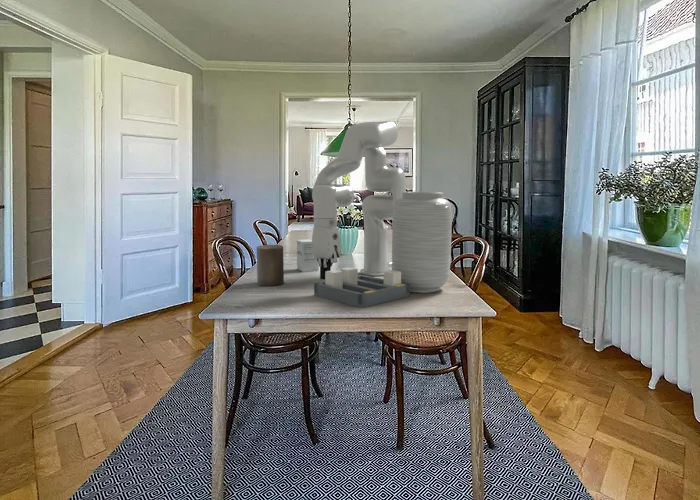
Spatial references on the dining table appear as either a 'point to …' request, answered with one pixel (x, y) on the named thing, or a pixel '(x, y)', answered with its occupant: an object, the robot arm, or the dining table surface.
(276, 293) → the dining table surface
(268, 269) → the pillar candle
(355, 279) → the tab middle
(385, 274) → the tab
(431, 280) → the vase
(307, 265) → the supplement box
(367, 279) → the switch bank
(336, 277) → the tab
